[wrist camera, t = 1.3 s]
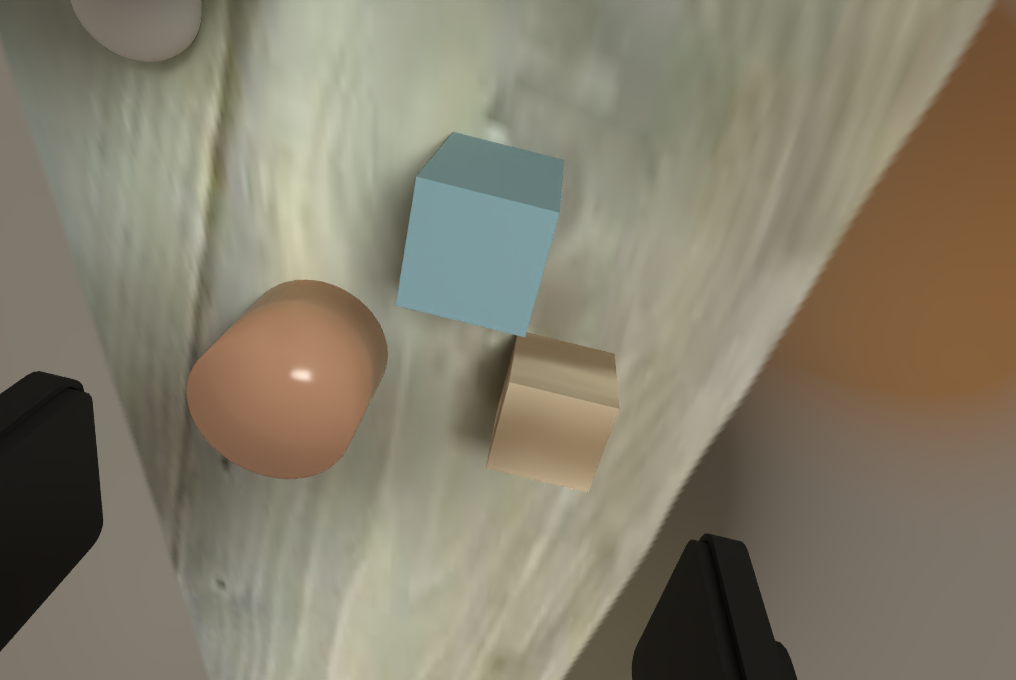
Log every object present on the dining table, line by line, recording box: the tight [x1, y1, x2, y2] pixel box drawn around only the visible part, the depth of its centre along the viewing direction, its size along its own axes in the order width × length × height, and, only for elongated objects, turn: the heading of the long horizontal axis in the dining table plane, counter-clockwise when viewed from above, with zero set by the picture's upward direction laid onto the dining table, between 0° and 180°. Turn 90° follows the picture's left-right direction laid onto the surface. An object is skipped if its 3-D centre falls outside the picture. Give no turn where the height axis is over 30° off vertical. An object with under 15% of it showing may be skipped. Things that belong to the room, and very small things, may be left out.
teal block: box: [396, 132, 564, 337], centre depth 22 cm, size 4×4×6 cm
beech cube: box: [486, 332, 620, 492], centre depth 26 cm, size 4×4×4 cm
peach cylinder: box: [187, 280, 388, 479], centre depth 26 cm, size 6×6×5 cm
